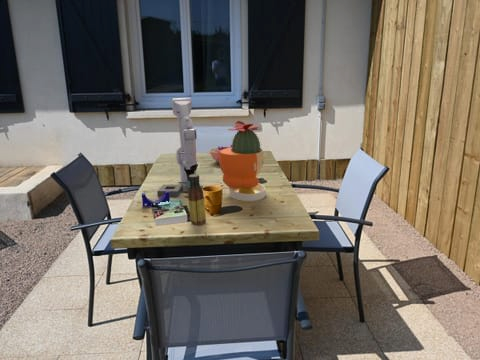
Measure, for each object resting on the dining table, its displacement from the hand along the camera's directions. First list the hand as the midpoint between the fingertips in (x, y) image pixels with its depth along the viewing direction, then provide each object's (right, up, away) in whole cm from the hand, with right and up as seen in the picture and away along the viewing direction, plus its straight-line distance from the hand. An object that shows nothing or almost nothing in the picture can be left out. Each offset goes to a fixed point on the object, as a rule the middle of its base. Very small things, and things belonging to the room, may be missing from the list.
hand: (191, 179), depth 206 cm
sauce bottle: (+7, -17, -41) cm, 45 cm away
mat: (0, -5, +1) cm, 5 cm away
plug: (0, -3, +1) cm, 3 cm away
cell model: (+15, +11, +54) cm, 57 cm away
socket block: (-10, -6, -2) cm, 12 cm away
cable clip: (-14, -11, -18) cm, 26 cm away
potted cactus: (+25, -7, -8) cm, 27 cm away
